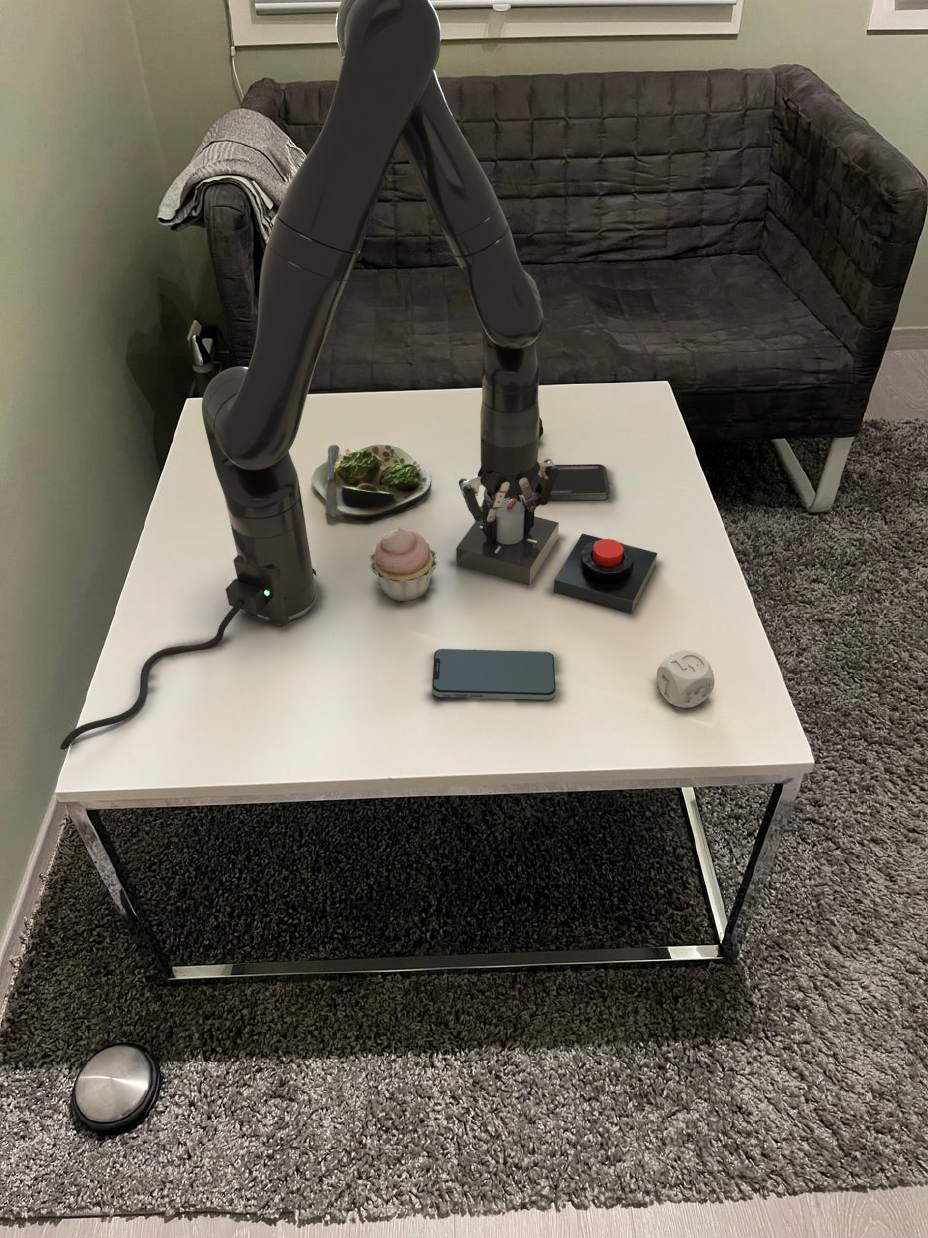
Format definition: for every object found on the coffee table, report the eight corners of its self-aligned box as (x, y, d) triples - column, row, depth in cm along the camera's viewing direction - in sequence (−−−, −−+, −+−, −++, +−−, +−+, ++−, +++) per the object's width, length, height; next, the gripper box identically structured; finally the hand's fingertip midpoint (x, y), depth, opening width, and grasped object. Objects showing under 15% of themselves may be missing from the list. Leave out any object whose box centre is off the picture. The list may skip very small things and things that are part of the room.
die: (654, 685, 124) (658, 657, 121) (688, 673, 126) (694, 644, 122) (676, 713, 121) (681, 684, 117) (711, 700, 122) (717, 671, 119)
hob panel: (529, 585, 138) (530, 567, 136) (456, 564, 142) (455, 547, 139) (558, 538, 145) (559, 521, 143) (487, 520, 149) (487, 502, 147)
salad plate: (285, 470, 159) (281, 445, 156) (386, 436, 165) (384, 412, 162) (339, 536, 147) (335, 510, 144) (445, 496, 153) (444, 471, 150)
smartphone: (556, 694, 122) (431, 691, 122) (555, 703, 123) (431, 700, 123) (553, 649, 127) (434, 646, 127) (552, 659, 128) (434, 656, 128)
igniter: (631, 614, 134) (634, 591, 131) (553, 592, 137) (554, 569, 134) (655, 564, 141) (659, 542, 138) (581, 544, 144) (582, 522, 142)
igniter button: (616, 570, 135) (618, 560, 133) (588, 563, 136) (589, 553, 135) (626, 553, 137) (627, 543, 136) (598, 545, 138) (599, 535, 137)
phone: (508, 465, 157) (605, 463, 157) (508, 471, 158) (604, 469, 157) (510, 495, 151) (610, 494, 151) (510, 501, 152) (610, 500, 152)
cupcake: (428, 558, 143) (424, 501, 136) (447, 600, 136) (445, 542, 129) (363, 572, 141) (357, 515, 134) (380, 616, 134) (374, 558, 127)
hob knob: (516, 547, 139) (517, 520, 136) (487, 539, 141) (487, 512, 137) (528, 529, 142) (529, 502, 139) (499, 521, 144) (500, 494, 140)
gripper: (549, 403, 134) (544, 507, 146) (447, 425, 130) (450, 529, 142) (572, 432, 129) (565, 537, 140) (467, 456, 125) (469, 562, 137)
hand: (507, 533), depth 141 cm, fingers closed on hob knob, 4 cm apart
